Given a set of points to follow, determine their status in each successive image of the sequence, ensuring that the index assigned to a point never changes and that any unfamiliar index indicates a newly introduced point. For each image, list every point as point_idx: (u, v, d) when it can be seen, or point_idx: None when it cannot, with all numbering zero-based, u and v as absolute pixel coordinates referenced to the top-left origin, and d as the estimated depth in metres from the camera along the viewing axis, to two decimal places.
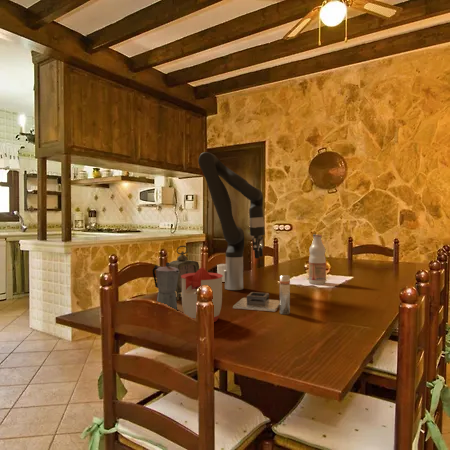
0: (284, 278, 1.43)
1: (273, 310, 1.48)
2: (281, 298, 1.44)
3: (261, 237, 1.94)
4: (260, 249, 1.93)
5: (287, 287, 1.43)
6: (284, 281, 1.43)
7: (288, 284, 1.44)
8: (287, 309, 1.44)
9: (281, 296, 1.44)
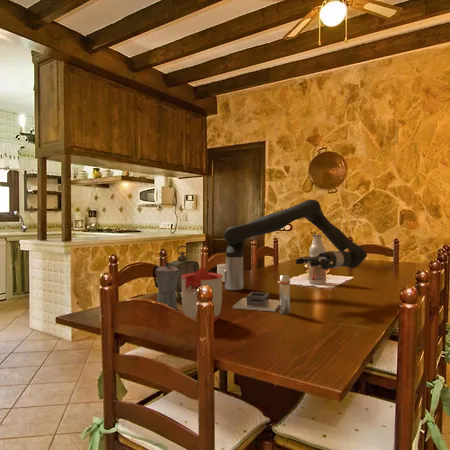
0: (284, 278, 1.43)
1: (273, 310, 1.48)
2: (281, 298, 1.44)
3: (310, 261, 1.60)
4: (303, 261, 1.56)
5: (287, 287, 1.43)
6: (284, 281, 1.43)
7: (288, 284, 1.44)
8: (287, 309, 1.44)
9: (281, 296, 1.44)
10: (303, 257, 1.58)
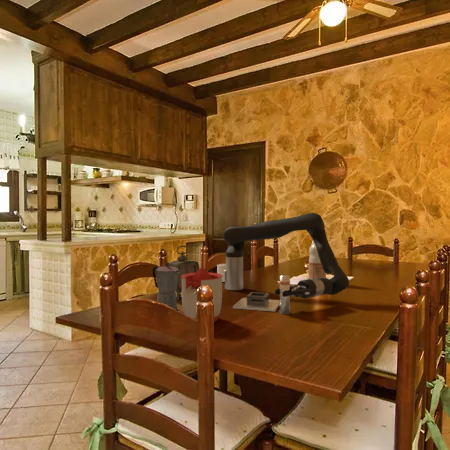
0: (284, 278, 1.43)
1: (273, 310, 1.48)
2: (281, 298, 1.44)
3: None
4: None
5: (287, 287, 1.43)
6: (284, 281, 1.43)
7: (288, 284, 1.44)
8: (287, 309, 1.44)
9: (281, 296, 1.44)
10: None
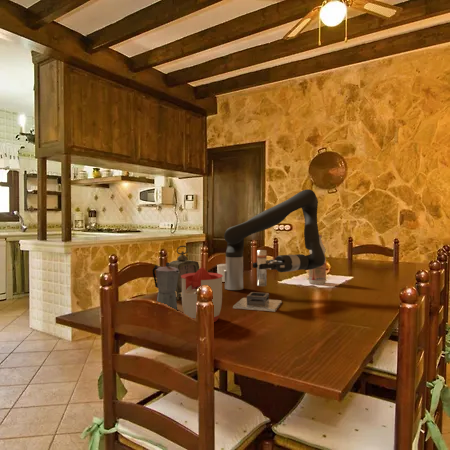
0: (261, 252, 1.53)
1: (273, 310, 1.48)
2: (258, 271, 1.54)
3: None
4: None
5: (264, 261, 1.53)
6: (261, 255, 1.53)
7: (265, 258, 1.53)
8: (264, 281, 1.53)
9: (258, 269, 1.54)
10: None
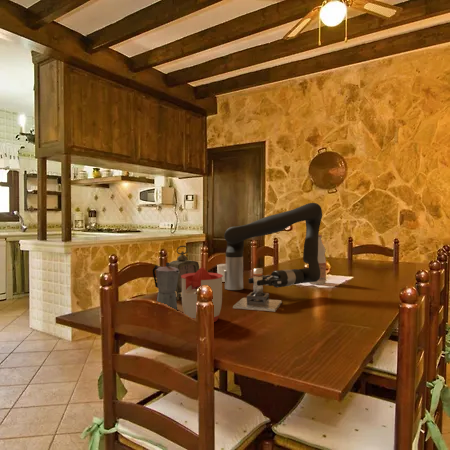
0: (257, 271, 1.56)
1: (273, 310, 1.48)
2: (254, 289, 1.57)
3: None
4: None
5: (260, 279, 1.56)
6: (257, 273, 1.56)
7: (261, 276, 1.56)
8: None
9: (254, 287, 1.57)
10: None
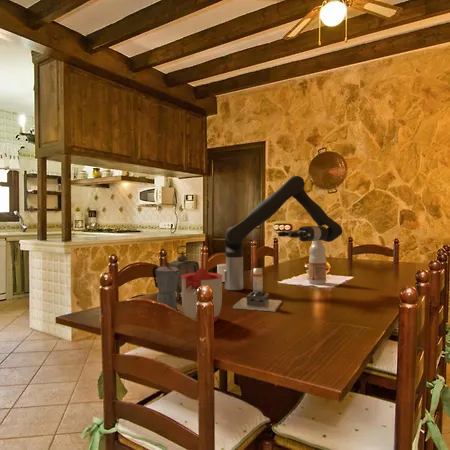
0: (257, 271, 1.56)
1: (273, 310, 1.48)
2: (254, 289, 1.57)
3: None
4: (284, 234, 1.77)
5: (260, 279, 1.56)
6: (257, 273, 1.56)
7: (261, 276, 1.56)
8: None
9: (254, 287, 1.57)
10: (285, 231, 1.79)
